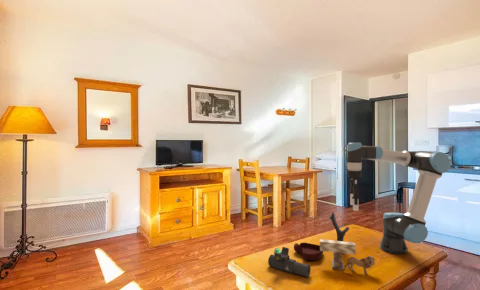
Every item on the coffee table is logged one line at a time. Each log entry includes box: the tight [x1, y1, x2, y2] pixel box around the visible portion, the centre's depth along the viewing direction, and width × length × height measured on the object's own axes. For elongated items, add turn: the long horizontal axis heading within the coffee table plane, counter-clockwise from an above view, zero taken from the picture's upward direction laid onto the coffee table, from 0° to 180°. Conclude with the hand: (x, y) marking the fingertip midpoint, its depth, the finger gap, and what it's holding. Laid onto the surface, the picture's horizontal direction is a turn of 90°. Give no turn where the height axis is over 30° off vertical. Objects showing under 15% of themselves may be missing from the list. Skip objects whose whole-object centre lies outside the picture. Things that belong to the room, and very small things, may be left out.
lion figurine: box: [344, 255, 375, 276], centre depth 140 cm, size 15×5×9 cm, turn 64°
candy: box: [273, 247, 282, 254], centre depth 157 cm, size 12×3×4 cm
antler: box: [329, 211, 350, 241], centre depth 166 cm, size 12×8×25 cm
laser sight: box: [267, 246, 312, 278], centre depth 141 cm, size 10×22×10 cm, turn 54°
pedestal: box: [331, 252, 345, 271], centre depth 146 cm, size 6×9×8 cm, turn 163°
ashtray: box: [293, 242, 324, 262], centre depth 160 cm, size 18×16×5 cm
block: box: [319, 238, 357, 256], centre depth 146 cm, size 18×4×5 cm, turn 73°
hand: (354, 207), depth 151 cm, fingers open, 13 cm apart
